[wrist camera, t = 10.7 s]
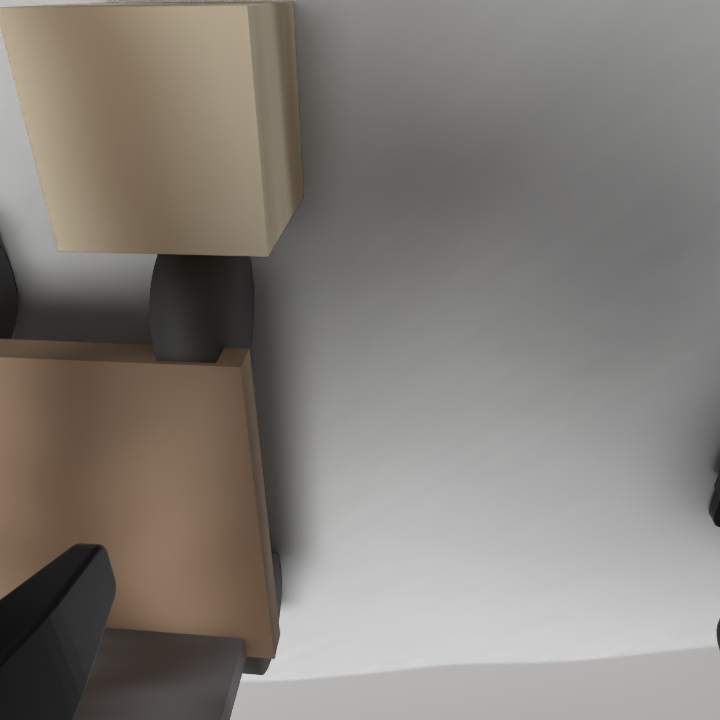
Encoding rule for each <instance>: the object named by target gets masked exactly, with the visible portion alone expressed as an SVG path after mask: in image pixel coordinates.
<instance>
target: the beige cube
mask: <svg viewBox="0 0 720 720" xmlns="http://www.w3.org/2000/svg"><path fill="white" fill-rule="evenodd" d="M0 27H1V31H2V35H3V38H4V42H5V46H6V50H7V54H8V58H9V62H10V66H11V70H12V74H13V78H14V81H15V85H16V89H17V93H18V97H19V101H20V105H21V109H22V113H23V117H24V120H25V124H26V128H27V132H28V136H29V140H30V144H31V148H32V152H33V156H34V160H35V163H36V167H37V171H38V175H39V179H40V183H41V187H42V191H43V195H44V199H45V203H46V206H47V210H48V214H49V218H50V222H51V226H52V230H53V234H54V238H55V242H56V246H57V249H58V251H67V252H105V253H144V254H183V255H222V256H260V257H268V256H269V254H270V253H271V251H272V249H273V248H274V246H275V244H276V243H277V241H278V239H279V238H280V236H281V234H282V232H283V231H284V229H285V227H286V226H287V224H288V222H289V221H290V219H291V217H292V216H293V214H294V212H295V211H296V209H297V207H298V205H299V204H300V202H301V200H302V199H303V197H304V189H303V170H302V150H301V131H300V112H299V93H298V74H297V54H296V35H295V16H294V2H164V3H91V4H68V5H45V6H22V7H0Z"/></svg>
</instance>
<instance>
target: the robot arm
mask: <svg viewBox="0 0 720 720" xmlns="http://www.w3.org/2000/svg"><path fill="white" fill-rule="evenodd" d="M715 489H716V493H715V495H714V498H713V501H712V504H711V507H710V510H709V514H710V516H711V518H712V520H713V521H714V523H715V525H716V526H718V527H720V471H719V474H718V477H717V480H716V482H715ZM115 594H116V580H115V576H114V573H113V569H112V566H111V562H110V559H109V555H108V552H107V550H106V548H105V547H104V546H103V545H100V544H87V543H78V544H75V545H73V546H72V547H70V548H69V549H67V550H66V551H65V552H63V553H62V554H61V555H59V556H58V557H57V558H55V559H54V560H53V561H51V562H50V563H49V564H47V565H46V566H45V567H43V568H42V569H40V570H39V571H38V572H36V573H35V574H34V575H32V576H31V577H30V578H28V579H27V580H26V581H24V582H23V583H22V584H20V585H19V586H18V587H16V588H15V589H14V590H12V591H11V592H10V593H8V594H7V595H6V596H4V597H3V598H2V599H0V720H73V718H74V715H75V713H76V711H77V708H78V706H79V703H80V701H81V698H82V696H83V693H84V690H85V687H86V684H87V682H88V679H89V675H90V672H91V669H92V666H93V663H94V660H95V657H96V654H97V651H98V648H99V645H100V642H101V639H102V636H103V633H104V629H105V626H106V623H107V620H108V617H109V614H110V611H111V608H112V605H113V602H114V599H115ZM717 641H718V645H719V649H720V619H719V622H718V625H717Z"/></svg>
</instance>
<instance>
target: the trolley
mask: <svg viewBox="0 0 720 720" xmlns="http://www.w3.org/2000/svg"><path fill="white" fill-rule="evenodd" d="M149 313H150V330H151V338H152V344H153V345H147V344H122V343H96V342H71V341H46V340H21V339H11V336H12V334H13V330H14V326H15V321H16V314H17V293H16V285H15V280H14V276H13V272H12V269H11V267H10V264H9V262H8V260H7V257H6V256H5V254H4V252H3V250H2V249H1V248H0V599H2V598H3V597H4V596H6V595H7V594H8V593H10V592H11V591H12V590H14V589H15V588H16V587H18V586H19V585H20V584H22V583H23V582H24V581H26V580H27V579H28V578H30V577H31V576H32V575H34V574H35V573H36V572H38V571H39V570H40V569H42V568H43V567H45V566H46V565H47V564H49V563H50V562H51V561H53V560H54V559H55V558H57V557H58V556H59V555H61V554H62V553H63V552H65V551H66V550H67V549H69V548H70V547H72V546H73V545H75V544H78V543H87V544H100V545H103V546H104V547H105V548H106V550H107V552H108V555H109V559H110V562H111V566H112V569H113V573H114V576H115V580H116V594H115V599H114V602H113V605H112V608H111V611H110V614H109V617H108V620H107V623H106V626H105V629H104V633H103V636H102V639H101V642H100V645H99V648H98V651H97V654H96V657H95V660H94V663H93V666H92V669H91V672H90V675H89V679H88V682H87V684H86V687H85V690H84V693H83V696H82V698H81V701H80V703H79V706H78V708H77V711H76V713H75V715H74V718H73V720H230V716H231V712H232V709H233V705H234V701H235V698H236V694H237V690H238V687H239V683H240V679H241V676H242V673H245V674H257V675H263V674H264V673H265V672H266V671H267V669H268V666H269V664H270V661H271V659H274V658H275V654H276V650H277V645H278V641H279V637H280V629H279V616H280V606H281V588H282V577H281V564H280V559H279V556H278V555H277V554H276V553H271V545H270V535H269V526H268V516H267V507H266V498H265V488H264V479H263V469H262V460H261V451H260V441H259V432H258V422H257V413H256V404H255V394H254V385H253V375H252V366H251V357H250V348H251V342H252V334H253V323H254V287H253V276H252V269H251V263H250V258H249V256H222V255H183V254H158V256H157V259H156V262H155V266H154V270H153V275H152V281H151V289H150V312H149Z"/></svg>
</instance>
